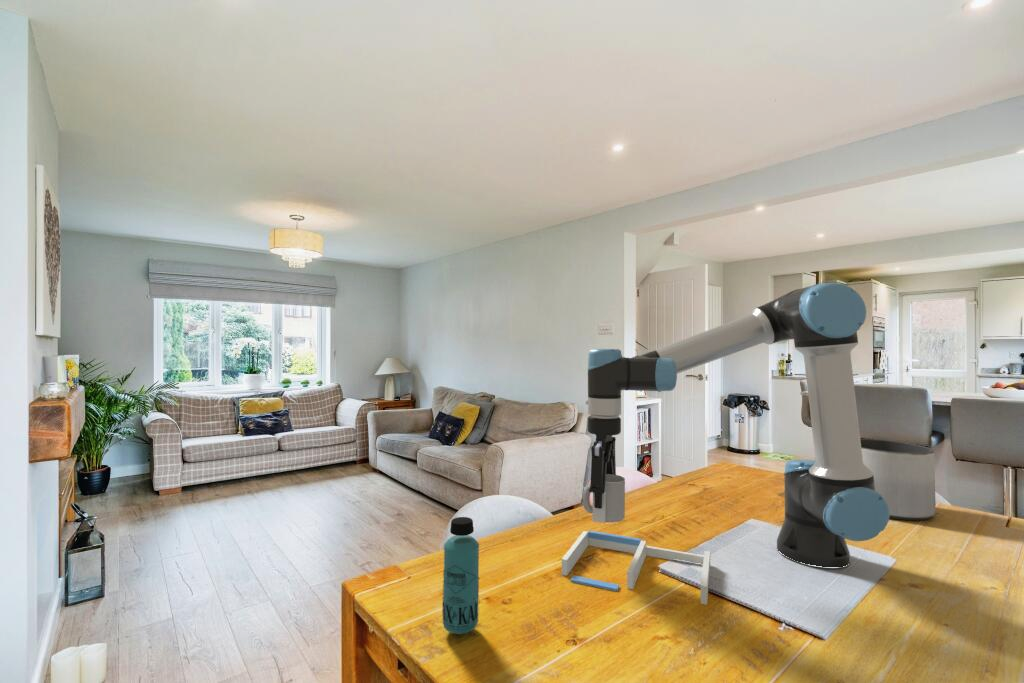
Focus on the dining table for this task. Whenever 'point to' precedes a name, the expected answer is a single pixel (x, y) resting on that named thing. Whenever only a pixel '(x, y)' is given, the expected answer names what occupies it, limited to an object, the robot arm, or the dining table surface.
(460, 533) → the beverage bottle
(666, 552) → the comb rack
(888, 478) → the planter
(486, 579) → the dining table surface
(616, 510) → the cup
